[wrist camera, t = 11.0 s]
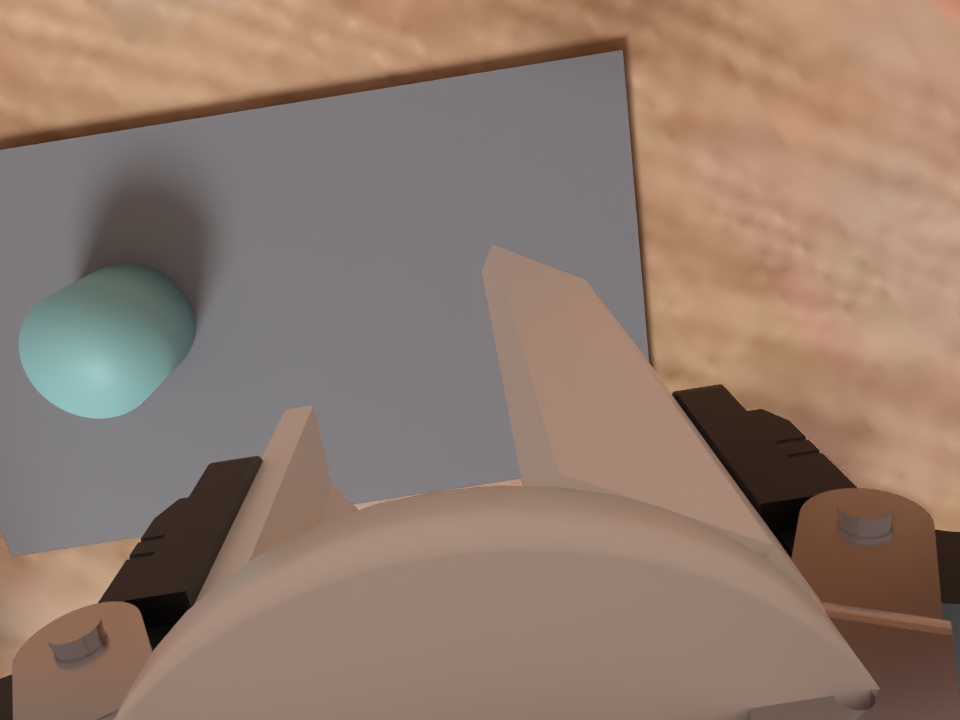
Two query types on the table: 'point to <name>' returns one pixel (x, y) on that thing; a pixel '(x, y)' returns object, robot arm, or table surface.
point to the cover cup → (510, 565)
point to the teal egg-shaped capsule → (107, 340)
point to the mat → (312, 283)
